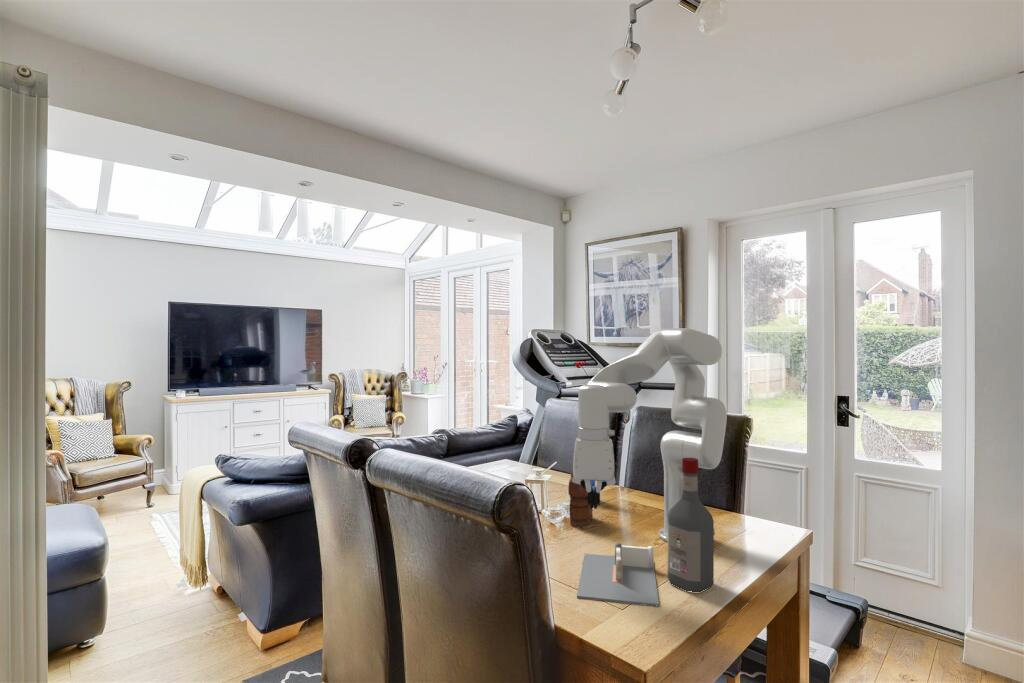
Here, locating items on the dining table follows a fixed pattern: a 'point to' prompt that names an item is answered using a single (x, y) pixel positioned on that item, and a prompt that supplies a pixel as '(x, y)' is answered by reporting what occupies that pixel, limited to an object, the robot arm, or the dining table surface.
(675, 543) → the liquor
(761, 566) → the dining table surface
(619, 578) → the hinged panel
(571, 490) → the wooden figurine
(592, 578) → the board
